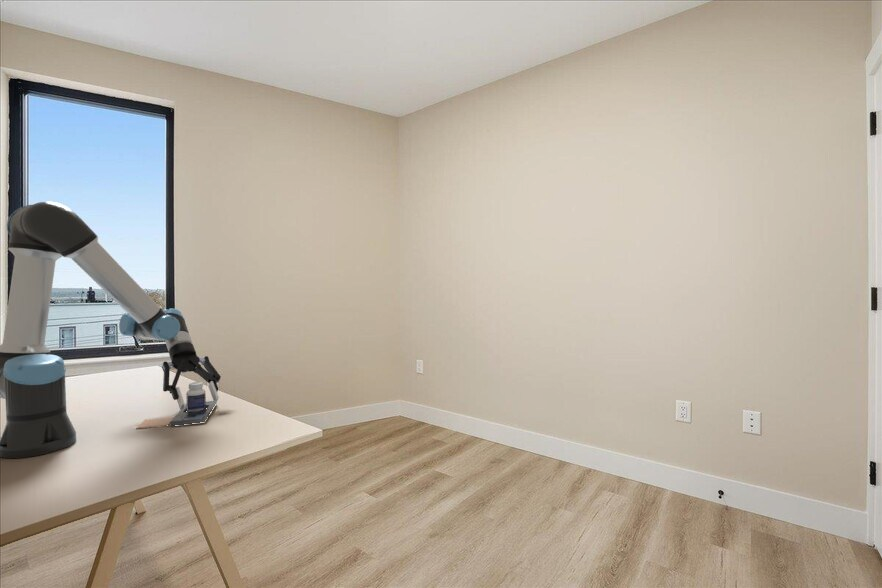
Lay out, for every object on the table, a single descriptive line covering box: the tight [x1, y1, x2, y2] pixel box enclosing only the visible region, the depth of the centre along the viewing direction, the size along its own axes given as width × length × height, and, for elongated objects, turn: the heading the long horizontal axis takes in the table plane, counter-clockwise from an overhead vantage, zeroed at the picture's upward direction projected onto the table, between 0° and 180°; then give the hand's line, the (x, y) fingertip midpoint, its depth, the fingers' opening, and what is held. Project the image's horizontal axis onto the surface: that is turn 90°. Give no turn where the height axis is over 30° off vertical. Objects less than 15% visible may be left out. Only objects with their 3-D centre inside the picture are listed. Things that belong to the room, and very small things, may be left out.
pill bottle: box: [185, 381, 207, 412], centre depth 146 cm, size 5×5×10 cm
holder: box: [169, 400, 217, 427], centre depth 144 cm, size 20×9×2 cm, turn 17°
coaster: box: [135, 416, 175, 430], centre depth 137 cm, size 8×8×1 cm
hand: (199, 403), depth 144 cm, fingers open, 9 cm apart
